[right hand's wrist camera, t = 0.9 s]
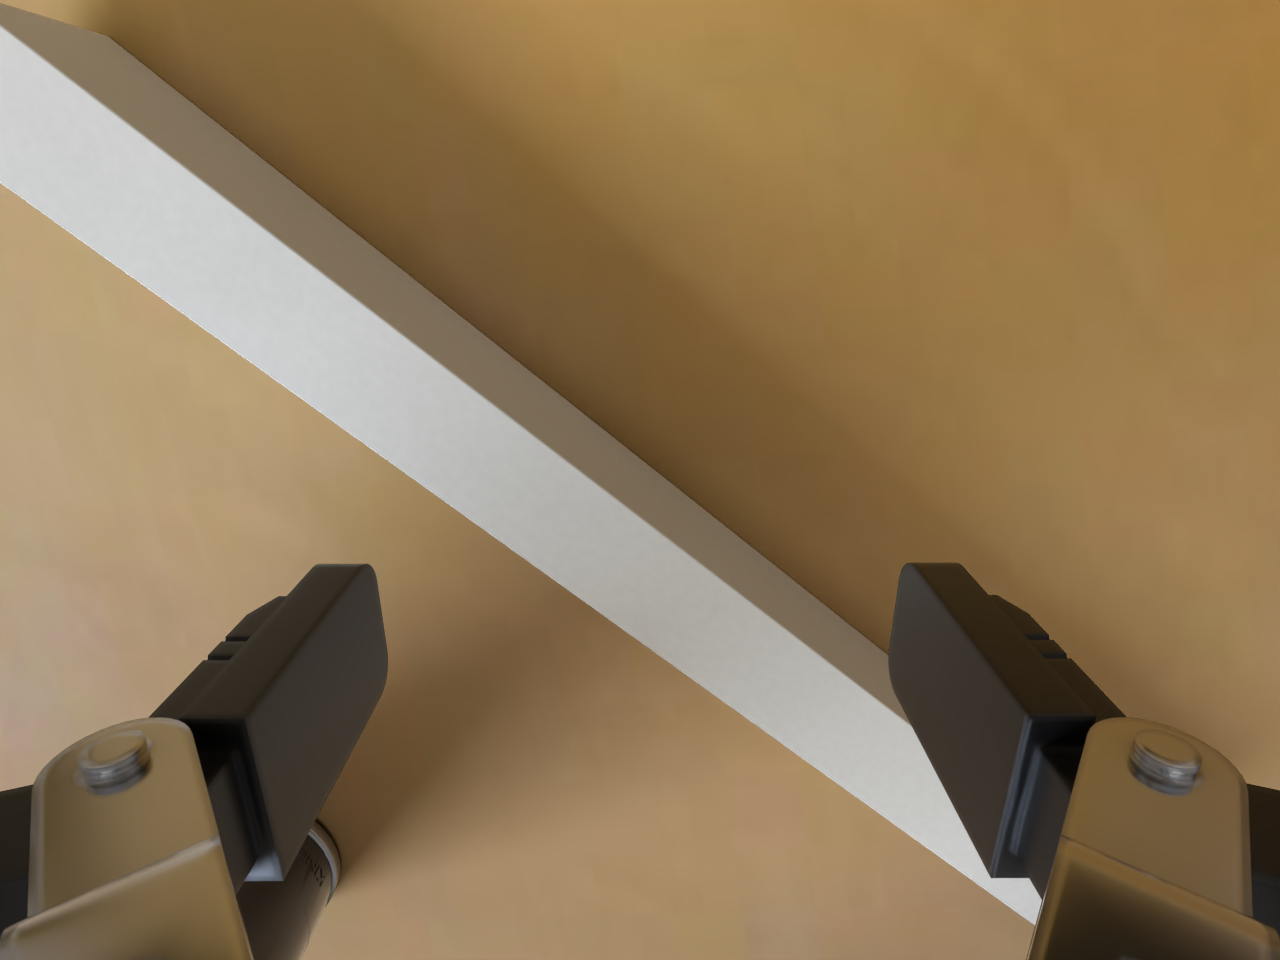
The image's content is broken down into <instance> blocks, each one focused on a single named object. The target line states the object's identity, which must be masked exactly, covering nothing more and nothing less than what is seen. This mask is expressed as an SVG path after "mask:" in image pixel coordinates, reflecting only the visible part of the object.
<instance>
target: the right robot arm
mask: <svg viewBox="0 0 1280 960" xmlns="http://www.w3.org/2000/svg"><path fill="white" fill-rule="evenodd" d="M888 665H889V674H890V680H891V684H892V688H893V690H894V693H895V695H896V697H897V699H898V701H899V703H900V705H901V707H902V709H903V710H904V712H905V714H906V716H907V718H908V720H909V722H910V724H911V726H912V728H913V730H914V732H915V734H916V735H917V737H918V739H919V741H920V743H921V745H922V747H923V749H924V751H925V753H926V755H927V757H928V758H929V760H930V762H931V764H932V766H933V768H934V770H935V772H936V774H937V776H938V778H939V780H940V782H941V783H942V785H943V787H944V789H945V791H946V793H947V795H948V797H949V799H950V801H951V803H952V805H953V807H954V808H955V810H956V812H957V814H958V816H959V818H960V820H961V822H962V824H963V826H964V828H965V830H966V831H967V833H968V835H969V837H970V839H971V841H972V843H973V845H974V847H975V849H976V851H977V853H978V855H979V856H980V858H981V860H982V862H983V864H984V866H985V868H986V870H987V872H988V874H989V876H990V878H1029V879H1030V880H1031V882H1032V884H1033V886H1034V887H1035V889H1036V891H1037V892H1038V894H1039V896H1040V898H1041V899H1042V902H1041V906H1040V909H1039V913H1038V917H1037V920H1036V924H1035V928H1034V932H1033V935H1032V939H1031V943H1030V947H1029V950H1028V954H1027V958H1026V960H1280V791H1279V790H1275V789H1270V788H1265V787H1261V786H1256V785H1251V784H1246V782H1245V780H1244V778H1243V776H1242V775H1241V773H1240V772H1239V771H1238V769H1237V768H1236V767H1235V766H1234V765H1233V764H1232V763H1231V762H1230V761H1229V760H1228V759H1227V758H1226V757H1224V756H1223V755H1222V754H1221V753H1219V752H1218V751H1217V750H1215V749H1214V748H1212V747H1211V746H1209V745H1208V744H1206V743H1204V742H1203V741H1201V740H1199V739H1197V738H1195V737H1193V736H1191V735H1189V734H1187V733H1185V732H1183V731H1180V730H1178V729H1175V728H1172V727H1170V726H1167V725H1164V724H1160V723H1157V722H1153V721H1148V720H1144V719H1137V718H1127V717H1126V716H1125V715H1124V714H1123V713H1122V712H1121V711H1120V710H1119V709H1118V708H1117V707H1116V705H1115V704H1114V703H1113V702H1112V701H1111V700H1110V699H1109V698H1108V697H1107V696H1106V695H1105V694H1104V693H1103V692H1102V691H1101V690H1100V689H1099V688H1098V687H1097V685H1096V684H1095V683H1094V682H1093V681H1092V680H1091V679H1090V678H1089V677H1088V676H1087V675H1086V674H1085V673H1084V672H1083V671H1082V670H1081V669H1080V668H1079V666H1078V665H1077V664H1076V663H1075V662H1074V661H1073V660H1072V659H1067V656H1066V653H1065V652H1064V651H1063V650H1062V649H1061V648H1060V646H1059V645H1058V644H1057V643H1056V642H1055V641H1054V640H1050V639H1049V635H1048V634H1047V633H1046V632H1045V631H1044V630H1043V629H1042V627H1041V626H1040V625H1039V624H1038V623H1037V622H1036V621H1035V620H1034V619H1033V618H1032V617H1031V616H1030V615H1029V614H1028V613H1026V612H1025V611H1023V610H1021V609H1020V608H1018V607H1016V606H1014V605H1013V604H1011V603H1009V602H1008V601H1006V600H1004V599H1003V598H1001V597H999V596H997V595H988V594H987V593H986V592H985V591H984V590H983V588H982V587H981V586H980V585H979V584H978V583H977V582H976V581H975V579H974V578H973V577H972V576H971V575H970V574H969V573H968V572H967V570H966V569H965V568H964V567H963V566H962V565H961V564H959V563H907V564H905V565H904V567H903V568H902V570H901V573H900V577H899V583H898V590H897V597H896V604H895V611H894V618H893V625H892V632H891V639H890V645H889V654H888ZM387 669H388V653H387V646H386V639H385V632H384V625H383V618H382V612H381V605H380V598H379V591H378V584H377V579H376V575H375V572H374V569H373V568H372V566H370V565H369V564H317V565H315V566H314V567H313V568H312V569H311V570H310V571H309V572H308V573H307V574H306V576H305V577H304V578H303V579H302V580H301V581H300V582H299V583H298V584H297V586H296V587H295V588H294V589H293V590H292V591H291V592H290V593H289V594H288V596H278V597H277V598H275V599H273V600H272V601H270V602H268V603H267V604H265V605H263V606H261V607H260V608H258V609H256V610H255V611H253V612H251V613H249V614H248V615H246V616H245V617H244V618H243V619H242V621H241V622H240V623H239V624H238V625H237V626H236V627H235V628H234V629H233V630H232V631H231V632H230V633H229V634H228V635H227V636H226V640H225V642H220V644H219V645H218V646H217V647H216V648H215V649H214V650H213V651H212V652H211V653H210V654H209V655H208V660H203V661H202V662H201V663H200V664H199V665H198V666H197V668H196V669H195V670H194V671H193V672H192V673H191V674H190V675H189V676H188V677H187V678H186V679H185V680H184V681H183V682H182V683H181V684H180V685H179V686H178V687H177V688H176V689H175V691H174V692H173V693H172V694H171V695H170V696H169V697H168V698H167V699H166V700H165V701H164V702H163V703H162V704H161V705H160V706H159V707H158V708H157V709H156V710H155V711H154V712H153V714H152V715H151V716H150V717H149V718H143V719H136V720H132V721H127V722H123V723H120V724H116V725H113V726H110V727H108V728H105V729H102V730H100V731H97V732H95V733H93V734H91V735H89V736H87V737H85V738H83V739H81V740H79V741H77V742H76V743H74V744H72V745H71V746H69V747H68V748H66V749H65V750H63V751H62V752H61V753H59V754H58V755H57V756H56V757H54V758H53V759H52V760H51V761H50V762H49V763H48V764H47V765H46V766H45V767H44V768H43V769H42V771H41V772H40V773H39V775H38V776H37V778H36V780H35V782H34V784H33V785H29V786H25V787H20V788H15V789H11V790H6V791H1V792H0V960H301V958H302V956H303V954H304V952H305V950H306V948H307V945H308V943H309V941H310V939H311V936H312V934H313V932H314V930H315V928H316V925H317V923H318V921H319V919H320V917H321V914H322V912H323V910H324V908H325V907H326V905H327V904H328V902H329V901H330V899H331V897H332V894H333V892H334V890H335V888H336V886H337V883H338V880H339V876H340V860H339V855H338V852H337V849H336V847H335V845H334V843H333V842H332V840H331V838H330V837H329V836H328V834H327V833H326V832H325V830H324V829H323V828H322V827H321V826H320V825H319V824H318V823H316V822H315V820H316V818H317V816H318V814H319V812H320V811H321V809H322V807H323V805H324V803H325V801H326V799H327V797H328V795H329V793H330V792H331V790H332V788H333V786H334V784H335V782H336V780H337V778H338V776H339V775H340V773H341V771H342V769H343V767H344V765H345V763H346V761H347V759H348V757H349V756H350V754H351V752H352V750H353V748H354V746H355V744H356V742H357V740H358V738H359V737H360V735H361V733H362V731H363V729H364V727H365V725H366V723H367V721H368V719H369V718H370V716H371V714H372V712H373V710H374V708H375V706H376V704H377V702H378V701H379V699H380V697H381V695H382V692H383V689H384V686H385V682H386V677H387Z"/></svg>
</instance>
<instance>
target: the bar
mask: <svg viewBox="0 0 1280 960" xmlns="http://www.w3.org/2000/svg"><path fill="white" fill-rule="evenodd" d="M0 183H1V184H3V185H4V186H5V187H7V188H8V189H10V190H11V191H12V192H14V193H15V194H17V195H18V196H19V197H21V198H22V199H24V200H25V201H26V202H28V203H29V204H31V205H32V206H33V207H35V208H36V209H38V210H39V211H40V212H42V213H43V214H44V215H46V216H47V217H49V218H50V219H51V220H53V221H54V222H56V223H57V224H58V225H60V226H61V227H63V228H64V229H65V230H67V231H68V232H70V233H71V234H72V235H74V236H75V237H77V238H78V239H79V240H81V241H82V242H83V243H85V244H86V245H88V246H89V247H90V248H92V249H93V250H95V251H96V252H97V253H99V254H100V255H102V256H103V257H104V258H106V259H107V260H109V261H110V262H111V263H113V264H114V265H116V266H117V267H118V268H120V269H121V270H123V271H124V272H125V273H127V274H128V275H129V276H131V277H132V278H134V279H135V280H136V281H138V282H139V283H141V284H142V285H143V286H145V287H146V288H148V289H149V290H150V291H152V292H153V293H155V294H156V295H157V296H159V297H160V298H162V299H163V300H164V301H166V302H167V303H168V304H170V305H171V306H173V307H174V308H175V309H177V310H178V311H180V312H181V313H182V314H184V315H185V316H187V317H188V318H189V319H191V320H192V321H194V322H195V323H196V324H198V325H199V326H201V327H202V328H203V329H205V330H206V331H208V332H209V333H210V334H212V335H213V336H214V337H216V338H217V339H219V340H220V341H221V342H223V343H224V344H226V345H227V346H228V347H230V348H231V349H233V350H234V351H235V352H237V353H238V354H240V355H241V356H242V357H244V358H245V359H247V360H248V361H249V362H251V363H252V364H253V365H255V366H256V367H258V368H259V369H260V370H262V371H263V372H265V373H266V374H267V375H269V376H270V377H272V378H273V379H274V380H276V381H277V382H279V383H280V384H281V385H283V386H284V387H286V388H287V389H288V390H290V391H291V392H293V393H294V394H295V395H297V396H298V397H299V398H301V399H302V400H304V401H305V402H306V403H308V404H309V405H311V406H312V407H313V408H315V409H316V410H318V411H319V412H320V413H322V414H323V415H325V416H326V417H327V418H329V419H330V420H332V421H333V422H334V423H336V424H337V425H338V426H340V427H341V428H343V429H344V430H345V431H347V432H348V433H350V434H351V435H352V436H354V437H355V438H357V439H358V440H359V441H361V442H362V443H364V444H365V445H366V446H368V447H369V448H371V449H372V450H373V451H375V452H376V453H378V454H379V455H380V456H382V457H383V458H384V459H386V460H387V461H389V462H390V463H391V464H393V465H394V466H396V467H397V468H398V469H400V470H401V471H403V472H404V473H405V474H407V475H408V476H410V477H411V478H412V479H414V480H415V481H417V482H418V483H419V484H421V485H422V486H423V487H425V488H426V489H428V490H429V491H430V492H432V493H433V494H435V495H436V496H437V497H439V498H440V499H442V500H443V501H444V502H446V503H447V504H449V505H450V506H451V507H453V508H454V509H456V510H457V511H458V512H460V513H461V514H463V515H464V516H465V517H467V518H468V519H469V520H471V521H472V522H474V523H475V524H476V525H478V526H479V527H481V528H482V529H483V530H485V531H486V532H488V533H489V534H490V535H492V536H493V537H495V538H496V539H497V540H499V541H500V542H502V543H503V544H504V545H506V546H507V547H508V548H510V549H511V550H513V551H514V552H515V553H517V554H518V555H520V556H521V557H522V558H524V559H525V560H527V561H528V562H529V563H531V564H532V565H534V566H535V567H536V568H538V569H539V570H541V571H542V572H543V573H545V574H546V575H548V576H549V577H550V578H552V579H553V580H554V581H556V582H557V583H559V584H560V585H561V586H563V587H564V588H566V589H567V590H568V591H570V592H571V593H573V594H574V595H575V596H577V597H578V598H580V599H581V600H582V601H584V602H585V603H587V604H588V605H589V606H591V607H592V608H593V609H595V610H596V611H598V612H599V613H600V614H602V615H603V616H605V617H606V618H607V619H609V620H610V621H612V622H613V623H614V624H616V625H617V626H619V627H620V628H621V629H623V630H624V631H626V632H627V633H628V634H630V635H631V636H633V637H634V638H635V639H637V640H638V641H639V642H641V643H642V644H644V645H645V646H646V647H648V648H649V649H651V650H652V651H653V652H655V653H656V654H658V655H659V656H660V657H662V658H663V659H665V660H666V661H667V662H669V663H670V664H672V665H673V666H674V667H676V668H677V669H678V670H680V671H681V672H683V673H684V674H685V675H687V676H688V677H690V678H691V679H692V680H694V681H695V682H697V683H698V684H699V685H701V686H702V687H704V688H705V689H706V690H708V691H709V692H711V693H712V694H713V695H715V696H716V697H718V698H719V699H720V700H722V701H723V702H724V703H726V704H727V705H729V706H730V707H731V708H733V709H734V710H736V711H737V712H738V713H740V714H741V715H743V716H744V717H745V718H747V719H748V720H750V721H751V722H752V723H754V724H755V725H757V726H758V727H759V728H761V729H762V730H763V731H765V732H766V733H768V734H769V735H770V736H772V737H773V738H775V739H776V740H777V741H779V742H780V743H782V744H783V745H784V746H786V747H787V748H789V749H790V750H791V751H793V752H794V753H796V754H797V755H798V756H800V757H801V758H803V759H804V760H805V761H807V762H808V763H809V764H811V765H812V766H814V767H815V768H816V769H818V770H819V771H821V772H822V773H823V774H825V775H826V776H828V777H829V778H830V779H832V780H833V781H835V782H836V783H837V784H839V785H840V786H842V787H843V788H844V789H846V790H847V791H848V792H850V793H851V794H853V795H854V796H855V797H857V798H858V799H860V800H861V801H862V802H864V803H865V804H867V805H868V806H869V807H871V808H872V809H874V810H875V811H876V812H878V813H879V814H881V815H882V816H883V817H885V818H886V819H888V820H889V821H890V822H892V823H893V824H894V825H896V826H897V827H899V828H900V829H901V830H903V831H904V832H906V833H907V834H908V835H910V836H911V837H913V838H914V839H915V840H917V841H918V842H920V843H921V844H922V845H924V846H925V847H927V848H928V849H929V850H931V851H932V852H933V853H935V854H936V855H938V856H939V857H940V858H942V859H943V860H945V861H946V862H947V863H949V864H950V865H952V866H953V867H954V868H956V869H957V870H959V871H960V872H961V873H963V874H964V875H966V876H967V877H968V878H970V879H971V880H973V881H974V882H975V883H977V884H978V885H979V886H981V887H982V888H984V889H985V890H986V891H988V892H989V893H991V894H992V895H993V896H995V897H996V898H998V899H999V900H1000V901H1002V902H1003V903H1005V904H1006V905H1007V906H1009V907H1010V908H1012V909H1013V910H1014V911H1016V912H1017V913H1018V914H1020V915H1021V916H1023V917H1024V918H1025V919H1027V920H1028V921H1030V922H1031V923H1032V924H1034V925H1035V924H1036V920H1037V917H1038V913H1039V909H1040V906H1041V902H1042V899H1041V898H1040V896H1039V894H1038V892H1037V891H1036V889H1035V887H1034V886H1033V884H1032V882H1031V880H1030V879H1029V878H990V876H989V874H988V872H987V870H986V868H985V866H984V864H983V862H982V860H981V858H980V856H979V855H978V853H977V851H976V849H975V847H974V845H973V843H972V841H971V839H970V837H969V835H968V833H967V831H966V830H965V828H964V826H963V824H962V822H961V820H960V818H959V816H958V814H957V812H956V810H955V808H954V807H953V805H952V803H951V801H950V799H949V797H948V795H947V793H946V791H945V789H944V787H943V785H942V783H941V782H940V780H939V778H938V776H937V774H936V772H935V770H934V768H933V766H932V764H931V762H930V760H929V758H928V757H927V755H926V753H925V751H924V749H923V747H922V745H921V743H920V741H919V739H918V737H917V735H916V734H915V732H914V730H913V728H912V726H911V724H910V722H909V720H908V718H907V716H906V714H905V712H904V710H903V709H902V707H901V705H900V703H899V701H898V699H897V697H896V695H895V693H894V690H893V688H892V684H891V680H890V674H889V665H888V655H887V654H886V653H885V652H883V651H882V650H881V649H880V648H878V647H877V646H876V645H875V644H873V643H872V642H871V641H869V640H868V639H867V638H866V637H864V636H863V635H862V634H861V633H859V632H858V631H857V630H856V629H854V628H853V627H852V626H851V625H849V624H848V623H847V622H846V621H844V620H843V619H842V618H840V617H839V616H838V615H837V614H835V613H834V612H833V611H832V610H830V609H829V608H828V607H827V606H825V605H824V604H823V603H822V602H820V601H819V600H818V599H817V598H815V597H814V596H813V595H811V594H810V593H809V592H808V591H806V590H805V589H804V588H803V587H801V586H800V585H799V584H798V583H796V582H795V581H794V580H793V579H791V578H790V577H789V576H788V575H786V574H785V573H784V572H782V571H781V570H780V569H779V568H777V567H776V566H775V565H774V564H772V563H771V562H770V561H769V560H767V559H766V558H765V557H764V556H762V555H761V554H760V553H759V552H757V551H756V550H755V549H754V548H752V547H751V546H750V545H748V544H747V543H746V542H745V541H743V540H742V539H741V538H740V537H738V536H737V535H736V534H735V533H733V532H732V531H731V530H730V529H728V528H727V527H726V526H725V525H723V524H722V523H721V522H719V521H718V520H717V519H716V518H714V517H713V516H712V515H711V514H709V513H708V512H707V511H706V510H704V509H703V508H702V507H701V506H699V505H698V504H697V503H696V502H694V501H693V500H692V499H690V498H689V497H688V496H687V495H685V494H684V493H683V492H682V491H680V490H679V489H678V488H677V487H675V486H674V485H673V484H672V483H670V482H669V481H668V480H667V479H665V478H664V477H663V476H661V475H660V474H659V473H658V472H656V471H655V470H654V469H653V468H651V467H650V466H649V465H648V464H646V463H645V462H644V461H643V460H641V459H640V458H639V457H638V456H636V455H635V454H634V453H632V452H631V451H630V450H629V449H627V448H626V447H625V446H624V445H622V444H621V443H620V442H619V441H617V440H616V439H615V438H614V437H612V436H611V435H610V434H609V433H607V432H606V431H605V430H604V429H602V428H601V427H600V426H598V425H597V424H596V423H595V422H593V421H592V420H591V419H590V418H588V417H587V416H586V415H585V414H583V413H582V412H581V411H580V410H578V409H577V408H576V407H575V406H573V405H572V404H571V403H569V402H568V401H567V400H566V399H564V398H563V397H562V396H561V395H559V394H558V393H557V392H556V391H554V390H553V389H552V388H551V387H549V386H548V385H547V384H546V383H544V382H543V381H542V380H540V379H539V378H538V377H537V376H535V375H534V374H533V373H532V372H530V371H529V370H528V369H527V368H525V367H524V366H523V365H522V364H520V363H519V362H518V361H517V360H515V359H514V358H513V357H511V356H510V355H509V354H508V353H506V352H505V351H504V350H503V349H501V348H500V347H499V346H498V345H496V344H495V343H494V342H493V341H491V340H490V339H489V338H488V337H486V336H485V335H484V334H483V333H481V332H480V331H479V330H477V329H476V328H475V327H474V326H472V325H471V324H470V323H469V322H467V321H466V320H465V319H464V318H462V317H461V316H460V315H459V314H457V313H456V312H455V311H454V310H452V309H451V308H450V307H448V306H447V305H446V304H445V303H443V302H442V301H441V300H440V299H438V298H437V297H436V296H435V295H433V294H432V293H431V292H430V291H428V290H427V289H426V288H425V287H423V286H422V285H421V284H419V283H418V282H417V281H416V280H414V279H413V278H412V277H411V276H409V275H408V274H407V273H406V272H404V271H403V270H402V269H401V268H399V267H398V266H397V265H396V264H394V263H393V262H392V261H390V260H389V259H388V258H387V257H385V256H384V255H383V254H382V253H380V252H379V251H378V250H377V249H375V248H374V247H373V246H372V245H370V244H369V243H368V242H367V241H365V240H364V239H363V238H362V237H360V236H359V235H358V234H356V233H355V232H354V231H353V230H351V229H350V228H349V227H348V226H346V225H345V224H344V223H343V222H341V221H340V220H339V219H338V218H336V217H335V216H334V215H333V214H331V213H330V212H329V211H327V210H326V209H325V208H324V207H322V206H321V205H320V204H319V203H317V202H316V201H315V200H314V199H312V198H311V197H310V196H309V195H307V194H306V193H305V192H304V191H302V190H301V189H300V188H298V187H297V186H296V185H295V184H293V183H292V182H291V181H290V180H288V179H287V178H286V177H285V176H283V175H282V174H281V173H280V172H278V171H277V170H276V169H275V168H273V167H272V166H271V165H269V164H268V163H267V162H266V161H264V160H263V159H262V158H261V157H259V156H258V155H257V154H256V153H254V152H253V151H252V150H251V149H249V148H248V147H247V146H246V145H244V144H243V143H242V142H241V141H239V140H238V139H237V138H235V137H234V136H233V135H232V134H230V133H229V132H228V131H227V130H225V129H224V128H223V127H222V126H220V125H219V124H218V123H217V122H215V121H214V120H213V119H212V118H210V117H209V116H208V115H206V114H205V113H204V112H203V111H201V110H200V109H199V108H198V107H196V106H195V105H194V104H193V103H191V102H190V101H189V100H188V99H186V98H185V97H184V96H183V95H181V94H180V93H179V92H177V91H176V90H175V89H174V88H172V87H171V86H170V85H169V84H167V83H166V82H165V81H164V80H162V79H161V78H160V77H159V76H157V75H156V74H155V73H154V72H152V71H151V70H150V69H148V68H147V67H146V66H145V65H143V64H142V63H141V62H140V61H138V60H137V59H136V58H135V57H133V56H132V55H131V54H130V53H128V52H127V51H126V50H125V49H123V48H122V47H121V46H119V45H118V44H117V43H116V42H114V41H113V40H112V39H111V38H109V37H108V36H106V35H103V34H100V33H96V32H93V31H90V30H87V29H83V28H80V27H77V26H74V25H70V24H67V23H64V22H61V21H57V20H54V19H51V18H47V17H44V16H41V15H38V14H34V13H31V12H28V11H25V10H21V9H18V8H15V7H12V6H8V5H5V4H2V3H0Z"/></svg>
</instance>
